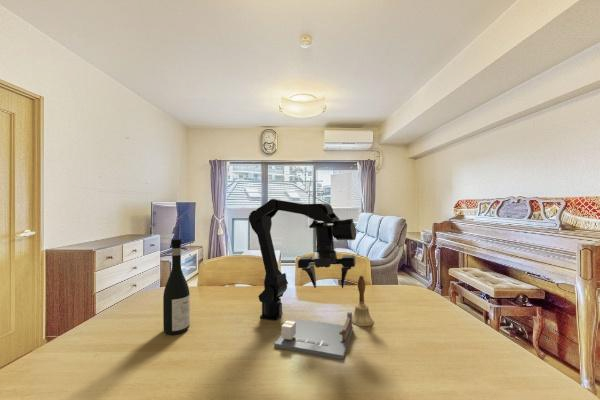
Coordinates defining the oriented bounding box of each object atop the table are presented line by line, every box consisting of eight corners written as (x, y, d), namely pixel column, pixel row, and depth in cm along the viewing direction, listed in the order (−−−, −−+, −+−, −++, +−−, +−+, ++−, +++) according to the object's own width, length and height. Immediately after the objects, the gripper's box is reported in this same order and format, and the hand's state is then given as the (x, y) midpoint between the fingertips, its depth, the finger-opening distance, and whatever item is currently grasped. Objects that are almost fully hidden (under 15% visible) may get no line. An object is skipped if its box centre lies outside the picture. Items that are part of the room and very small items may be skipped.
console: (274, 347, 82) (274, 328, 82) (296, 320, 100) (295, 305, 100) (342, 359, 76) (342, 339, 76) (353, 329, 94) (353, 312, 94)
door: (338, 341, 83) (338, 329, 83) (344, 326, 93) (344, 316, 93) (345, 342, 83) (345, 330, 83) (350, 327, 92) (350, 316, 92)
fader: (281, 340, 84) (281, 325, 84) (286, 333, 87) (286, 320, 87) (291, 341, 83) (291, 327, 83) (295, 335, 86) (295, 321, 86)
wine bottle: (195, 327, 95) (194, 238, 95) (175, 337, 88) (175, 241, 88) (177, 322, 99) (177, 236, 99) (157, 332, 92) (157, 239, 91)
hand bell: (374, 327, 95) (374, 279, 95) (349, 325, 97) (349, 278, 96) (373, 317, 103) (373, 273, 103) (350, 315, 105) (350, 272, 105)
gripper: (291, 245, 90) (295, 295, 89) (350, 242, 85) (355, 295, 84) (300, 240, 100) (304, 285, 100) (353, 238, 95) (357, 284, 95)
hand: (328, 287), depth 94 cm, fingers open, 9 cm apart
